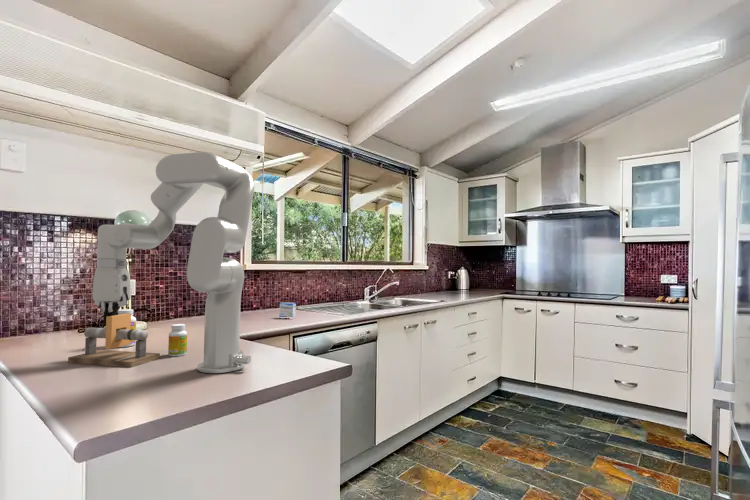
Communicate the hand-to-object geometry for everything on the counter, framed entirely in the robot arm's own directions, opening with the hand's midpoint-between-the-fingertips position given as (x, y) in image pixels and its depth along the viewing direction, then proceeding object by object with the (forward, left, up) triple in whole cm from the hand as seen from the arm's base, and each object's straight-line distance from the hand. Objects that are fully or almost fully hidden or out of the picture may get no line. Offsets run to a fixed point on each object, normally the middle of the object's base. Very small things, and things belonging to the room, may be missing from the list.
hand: (109, 324), depth 121 cm
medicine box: (-14, -99, -11) cm, 101 cm away
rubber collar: (-3, 0, -6) cm, 7 cm away
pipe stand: (-2, 0, -11) cm, 11 cm away
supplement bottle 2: (-15, -11, -11) cm, 22 cm away
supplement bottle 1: (+12, -18, -11) cm, 24 cm away
